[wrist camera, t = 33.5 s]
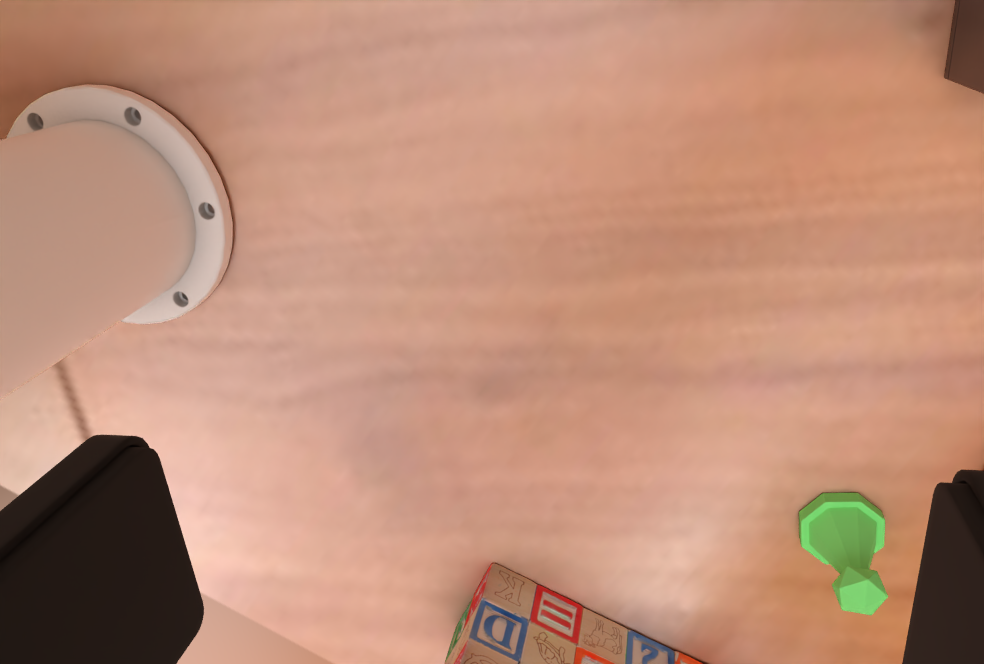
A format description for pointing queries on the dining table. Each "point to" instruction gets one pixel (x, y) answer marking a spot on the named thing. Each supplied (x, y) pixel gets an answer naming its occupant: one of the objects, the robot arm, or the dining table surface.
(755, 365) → the dining table surface
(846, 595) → the game piece
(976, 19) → the dark grey open box
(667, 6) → the dining table surface
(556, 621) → the stack of blocks
